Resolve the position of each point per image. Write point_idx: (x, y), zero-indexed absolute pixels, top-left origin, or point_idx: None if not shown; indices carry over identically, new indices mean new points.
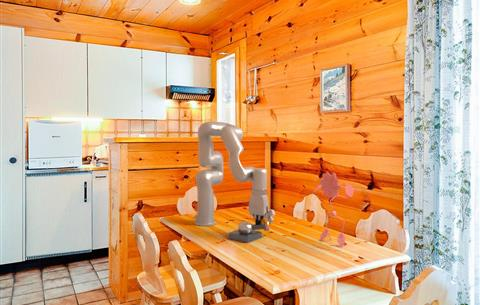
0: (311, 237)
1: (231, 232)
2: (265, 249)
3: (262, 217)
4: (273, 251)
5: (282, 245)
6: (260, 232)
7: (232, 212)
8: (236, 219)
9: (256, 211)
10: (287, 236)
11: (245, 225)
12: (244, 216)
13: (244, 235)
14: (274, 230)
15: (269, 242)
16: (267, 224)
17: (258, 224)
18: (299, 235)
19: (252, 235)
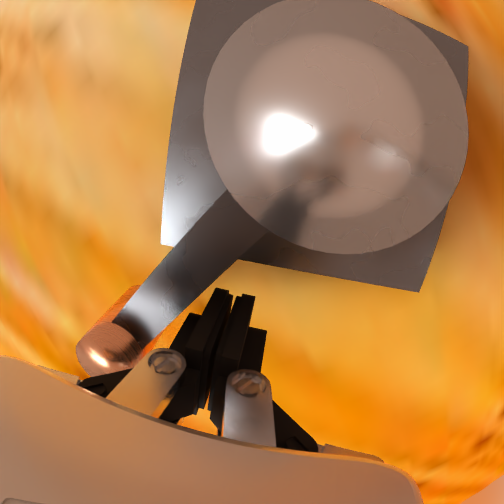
0: (18, 349)
1: (452, 59)
2: (59, 4)
3: (90, 381)
4: (23, 19)
5: (11, 140)
6: (162, 217)
7: (469, 486)
8: (462, 457)
9: (107, 478)
10: (76, 335)
11: (281, 7)
12: (429, 489)
13: (261, 3)
14: (208, 421)
15: (78, 139)
16: (92, 327)
17: (177, 289)
18: (58, 367)
19: (184, 59)
